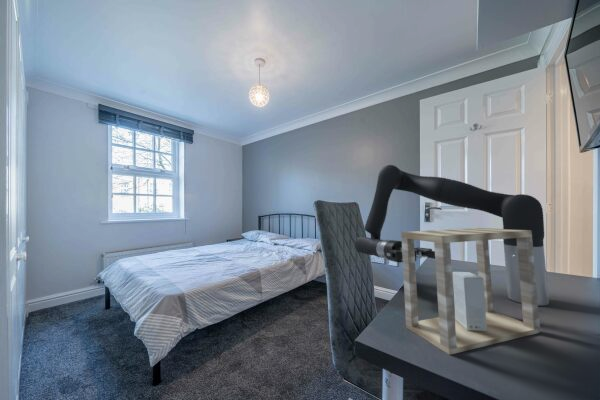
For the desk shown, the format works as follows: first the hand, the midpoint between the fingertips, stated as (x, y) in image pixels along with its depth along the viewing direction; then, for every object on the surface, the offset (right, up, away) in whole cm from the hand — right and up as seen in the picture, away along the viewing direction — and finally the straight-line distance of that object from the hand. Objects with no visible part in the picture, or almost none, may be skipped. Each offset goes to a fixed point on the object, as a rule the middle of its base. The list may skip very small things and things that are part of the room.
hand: (426, 256), depth 71 cm
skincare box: (+2, -13, -15) cm, 20 cm away
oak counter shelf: (+2, -14, -15) cm, 21 cm away
